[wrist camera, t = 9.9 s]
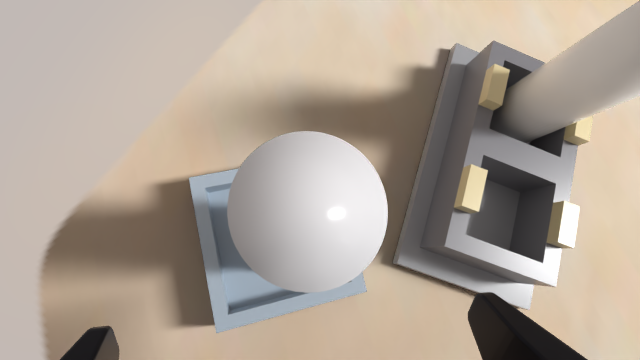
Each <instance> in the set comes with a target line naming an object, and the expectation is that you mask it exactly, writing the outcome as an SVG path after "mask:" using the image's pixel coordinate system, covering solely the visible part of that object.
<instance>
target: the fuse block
mask: <svg viewBox="0 0 640 360" xmlns="http://www.w3.org/2000/svg"><path fill="white" fill-rule="evenodd" d="M544 64H545V63H544V62H542V61H540V60H537V59H535V58H533V57H530V56H528V55H526V54H523V53H521V52H519V51H517V50H514V49H512V48H510V47H507V46H505V45H503V44H500V43H498V42H496V41H492V42H491V43H490V44H489V45H488V46H487V47H486V48H485V49H483V50H482V51H481V52H480V53H479V52H476V51H474V50H472V49H469V48H467V47H465V46H462V45H460V44H458V43H456V44H455V45H454V46H453V47H452V48H451V50H450V53H449V57H448V61H447V64H446V68H445V72H444V75H443V79H442V83H441V86H440V90H439V94H438V98H437V101H436V105H435V109H434V112H433V116H432V120H431V123H430V127H429V131H428V134H427V138H426V142H425V145H424V149H423V153H422V157H421V160H420V164H419V168H418V171H417V175H416V179H415V182H414V186H413V190H412V193H411V197H410V201H409V204H408V208H407V212H406V215H405V219H404V223H403V227H402V230H401V234H400V238H399V241H398V245H397V249H396V252H395V256H394V260H393V263H394V264H396V265H399V266H402V267H405V268H408V269H411V270H413V271H416V272H419V273H422V274H425V275H428V276H430V277H433V278H436V279H439V280H442V281H444V282H447V283H450V284H453V285H456V286H459V287H461V288H464V289H467V290H470V291H473V292H475V293H484V292H492V293H495V294H496V295H498V296H499V297H501V298H502V299H503V300H505V301H506V302H508V303H509V304H510V305H512V306H515V307H518V308H521V309H526V310H530V305H531V299H532V293H533V287H534V285H542V286H552V287H556V284H557V277H558V271H559V264H560V258H561V251H562V248H574V244H575V237H576V231H577V224H578V217H579V210H580V207H579V206H577V205H574V204H572V203H569V199H570V193H571V186H572V180H573V173H574V167H575V160H576V154H577V147H578V145H581V144H584V143H586V142H589V141H590V134H591V127H592V120H593V116H590V117H588V118H585V119H583V120H581V121H578V122H576V123H573V124H571V125H568V126H566V127H564V128H561V129H559V130H556V131H554V132H552V133H549V134H547V135H544V136H542V137H539V138H537V139H535V140H532V141H531V142H530V143H528V144H526V143H524V142H521V141H519V140H516V139H514V138H511V137H509V136H506V135H504V134H502V133H499V132H497V131H494V130H492V129H489V127H490V123H491V119H492V114H493V111H494V110H495V109H497V108H499V107H500V106H502V104H503V99H504V94H505V90H506V89H508V88H509V87H511V86H512V85H514V84H515V83H517V82H518V81H520V80H521V79H523V78H524V77H526V76H527V75H529V74H530V73H532V72H533V71H535V70H536V69H538V68H539V67H541V66H542V65H544Z"/></svg>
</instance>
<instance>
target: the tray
mask: <svg viewBox="0 0 640 360" xmlns="http://www.w3.org/2000/svg"><path fill="white" fill-rule="evenodd" d="M238 170H239V169H233V170H228V171H223V172H217V173H212V174H206V175H201V176H195V177H190V178H189V182H190V188H191V194H192V199H193V205H194V210H195V216H196V222H197V227H198V233H199V238H200V244H201V250H202V255H203V261H204V266H205V272H206V278H207V283H208V289H209V294H210V300H211V306H212V311H213V317H214V322H215V328H216V333H219V332H222V331H226V330H230V329H233V328H237V327H240V326H244V325H248V324H251V323H255V322H258V321H262V320H266V319H269V318H273V317H276V316H280V315H284V314H287V313H291V312H294V311H298V310H302V309H305V308H309V307H313V306H316V305H320V304H323V303H327V302H331V301H334V300H338V299H341V298H345V297H349V296H352V295H356V294H359V293H363V292H367V289H366V285H365V281H364V277H363V273H362V272H361V273H360V274H359V275H358V276H357V277H355V278H354V279H352V280H351V281H349V282H348V283H346V284H344V285H342V286H340V287H337V288H334V289H331V290H327V291H322V292H312V293H304V292H295V291H291V290H286V289H283V288H281V287H278V286H275V285H273V284H272V283H270V282H268V281H266V280H264V279H263V278H262V277H260V276H259V275H258V274H256V273H255V272H254V271H253V270H252V269H251V268H250V267H249V266H248V265H247V263H246V262H245V261H244V260H243V258H242V257H241V255H240V254H239V252H238V250H237V248H236V247H235V244H234V242H233V239H232V237H231V233H230V229H229V226H228V217H227V203H228V197H229V191H230V188H231V185H232V182H233V180H234V177H235V175H236V173H237V171H238Z"/></svg>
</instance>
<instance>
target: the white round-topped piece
mask: <svg viewBox="0 0 640 360" xmlns="http://www.w3.org/2000/svg"><path fill="white" fill-rule="evenodd" d="M227 217H228V226H229V229H230V233H231V237H232V239H233V242H234V244H235V247H236V248H237V250H238V252H239V254H240V255H241V257H242V258H243V260H244V261H245V262H246V263H247V265H248V266H249V267H250V268H251V269H252V270H253V271H254V272H255V273H256V274H258V275H259V276H260V277H262V278H263V279H264V280H266V281H268V282H270V283H272V284H273V285H275V286H278V287H281V288H283V289H286V290H291V291H295V292H304V293H312V292H322V291H327V290H331V289H334V288H337V287H340V286H342V285H344V284H346V283H348V282H349V281H351V280H352V279H354V278H355V277H357V276H358V275H359V274H360V273H361V272H363V271H364V270H365V269H366V268H367V266H368V265H369V264H370V263H371V262H372V260H373V259H374V257H375V256H376V254H377V253H378V251H379V249H380V247H381V245H382V242H383V239H384V236H385V233H386V227H387V220H388V206H387V199H386V194H385V190H384V187H383V184H382V182H381V179H380V177H379V175H378V173H377V172H376V170H375V168H374V167H373V165H372V164H371V163H370V162H369V160H368V159H367V158H366V157H365V156H364V155H363V154H362V153H361V152H360V151H359V150H358V149H356V148H355V147H354V146H352V145H351V144H349V143H347V142H346V141H344V140H342V139H340V138H338V137H335V136H333V135H329V134H326V133H321V132H315V131H299V132H292V133H287V134H283V135H280V136H278V137H275V138H273V139H271V140H269V141H267V142H265V143H264V144H262V145H261V146H259V147H258V148H257V149H256V150H254V151H253V152H252V153H251V154H250V155H249V156H248V157H247V159H246V160H245V161H244V162H243V163H242V165H241V166H240V168H239V170H238V171H237V173H236V175H235V177H234V180H233V182H232V185H231V188H230V191H229V197H228V203H227Z"/></svg>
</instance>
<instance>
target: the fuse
mask: <svg viewBox="0 0 640 360" xmlns="http://www.w3.org/2000/svg"><path fill="white" fill-rule="evenodd" d="M638 96H640V0H639V1H638V2H636V3H635V4H633V5H632V6H630V7H629V8H628V9H626V10H625V11H623V12H622V13H620V14H619V15H617V16H616V17H614V18H613V19H611V20H610V21H608V22H607V23H605V24H604V25H602V26H601V27H599V28H598V29H596V30H595V31H593V32H592V33H590V34H589V35H587V36H586V37H584V38H583V39H581V40H580V41H578V42H577V43H575V44H574V45H572V46H571V47H569V48H568V49H566V50H565V51H563V52H562V53H560V54H559V55H557V56H556V57H554V58H553V59H551V60H550V61H548V62H547V63H545V64H544V65H542V66H541V67H539V68H538V69H536V70H535V71H533V72H532V73H530V74H529V75H527V76H526V77H524V78H523V79H521V80H520V81H518V82H517V83H515V84H514V85H512V86H511V87H509V88H508V89H506V90H505V94H504V99H503V104H502V106H500V107H499V108H497V109H495V110H494V111H493V114H492V119H491V123H490V127H489V129H492V130H494V131H497V132H499V133H502V134H504V135H506V136H509V137H511V138H514V139H516V140H519V141H521V142H524V143H526V144H528V143H530V142H531V141H532V140H535V139H537V138H539V137H542V136H544V135H547V134H549V133H552V132H554V131H556V130H559V129H561V128H564V127H566V126H568V125H571V124H573V123H576V122H578V121H581V120H583V119H585V118H588V117H590V116H593V115H595V114H597V113H600V112H602V111H605V110H607V109H609V108H612V107H614V106H617V105H619V104H622V103H624V102H626V101H629V100H631V99H634V98H636V97H638Z"/></svg>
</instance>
